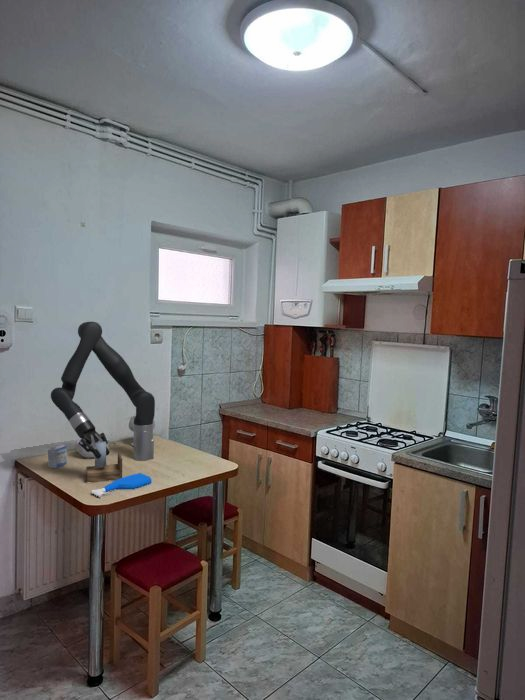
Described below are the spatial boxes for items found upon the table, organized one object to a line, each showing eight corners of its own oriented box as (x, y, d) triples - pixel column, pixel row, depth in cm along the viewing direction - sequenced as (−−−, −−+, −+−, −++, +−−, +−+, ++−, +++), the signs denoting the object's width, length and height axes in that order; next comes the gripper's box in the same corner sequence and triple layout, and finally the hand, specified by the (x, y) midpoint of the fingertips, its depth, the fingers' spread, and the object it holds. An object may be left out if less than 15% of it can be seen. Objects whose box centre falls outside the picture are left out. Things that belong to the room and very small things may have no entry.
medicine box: (56, 468, 216) (56, 449, 215) (47, 467, 217) (47, 449, 216) (66, 463, 224) (66, 445, 223) (58, 462, 225) (58, 444, 224)
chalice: (129, 448, 251) (129, 420, 250) (127, 441, 265) (127, 415, 264) (156, 446, 256) (156, 419, 255) (153, 440, 269) (153, 414, 268)
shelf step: (119, 472, 213) (119, 452, 212) (122, 479, 203) (122, 459, 203) (86, 475, 207) (86, 455, 207) (87, 483, 198) (87, 462, 198)
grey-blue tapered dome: (100, 463, 208) (100, 440, 207) (108, 464, 206) (108, 442, 205) (92, 466, 203) (92, 443, 203) (101, 467, 202) (101, 444, 201)
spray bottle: (138, 471, 206) (86, 487, 188) (154, 477, 199) (101, 494, 181) (138, 478, 207) (86, 494, 188) (154, 484, 200) (101, 501, 181)
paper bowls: (71, 454, 238) (71, 438, 238) (101, 449, 248) (101, 434, 248) (83, 461, 227) (82, 445, 226) (113, 456, 237) (113, 440, 236)
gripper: (74, 422, 200) (97, 454, 196) (98, 416, 213) (120, 446, 209) (64, 433, 202) (87, 465, 198) (89, 427, 215) (110, 456, 211)
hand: (103, 455), depth 204 cm, fingers closed on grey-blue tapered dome, 4 cm apart
